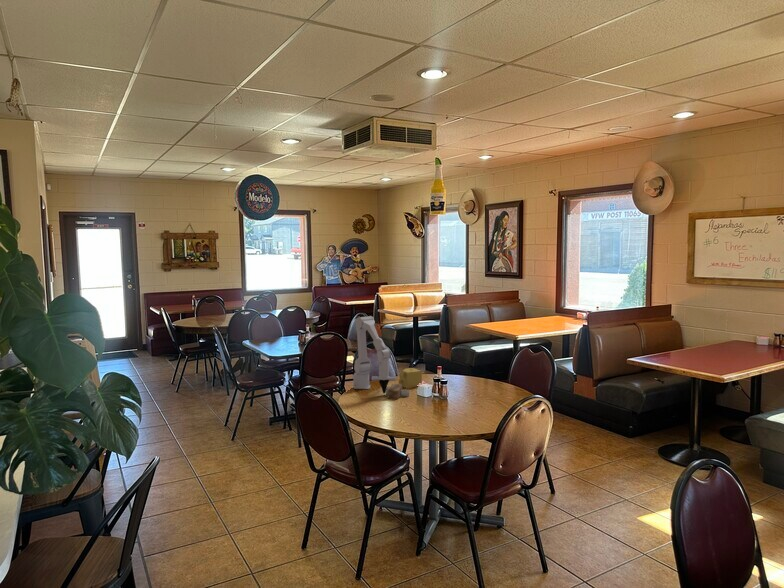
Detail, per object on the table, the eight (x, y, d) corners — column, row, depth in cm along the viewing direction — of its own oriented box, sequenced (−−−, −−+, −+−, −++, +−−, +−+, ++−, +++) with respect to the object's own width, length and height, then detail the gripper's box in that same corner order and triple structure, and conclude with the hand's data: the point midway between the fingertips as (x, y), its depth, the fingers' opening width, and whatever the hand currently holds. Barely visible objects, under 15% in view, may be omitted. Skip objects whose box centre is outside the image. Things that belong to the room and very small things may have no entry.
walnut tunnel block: (388, 398, 307) (388, 390, 306) (392, 392, 321) (392, 384, 320) (398, 399, 306) (398, 390, 305) (402, 392, 320) (402, 384, 319)
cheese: (398, 384, 337) (398, 369, 336) (413, 382, 342) (413, 367, 341) (407, 388, 328) (407, 372, 327) (422, 386, 333) (422, 370, 332)
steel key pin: (386, 396, 311) (385, 389, 311) (387, 393, 317) (387, 386, 317) (408, 397, 309) (408, 390, 309) (409, 394, 315) (409, 387, 315)
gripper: (370, 370, 310) (370, 394, 311) (395, 371, 308) (395, 395, 309) (372, 368, 317) (372, 390, 318) (397, 368, 315) (397, 391, 316)
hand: (384, 392), depth 314 cm, fingers closed
